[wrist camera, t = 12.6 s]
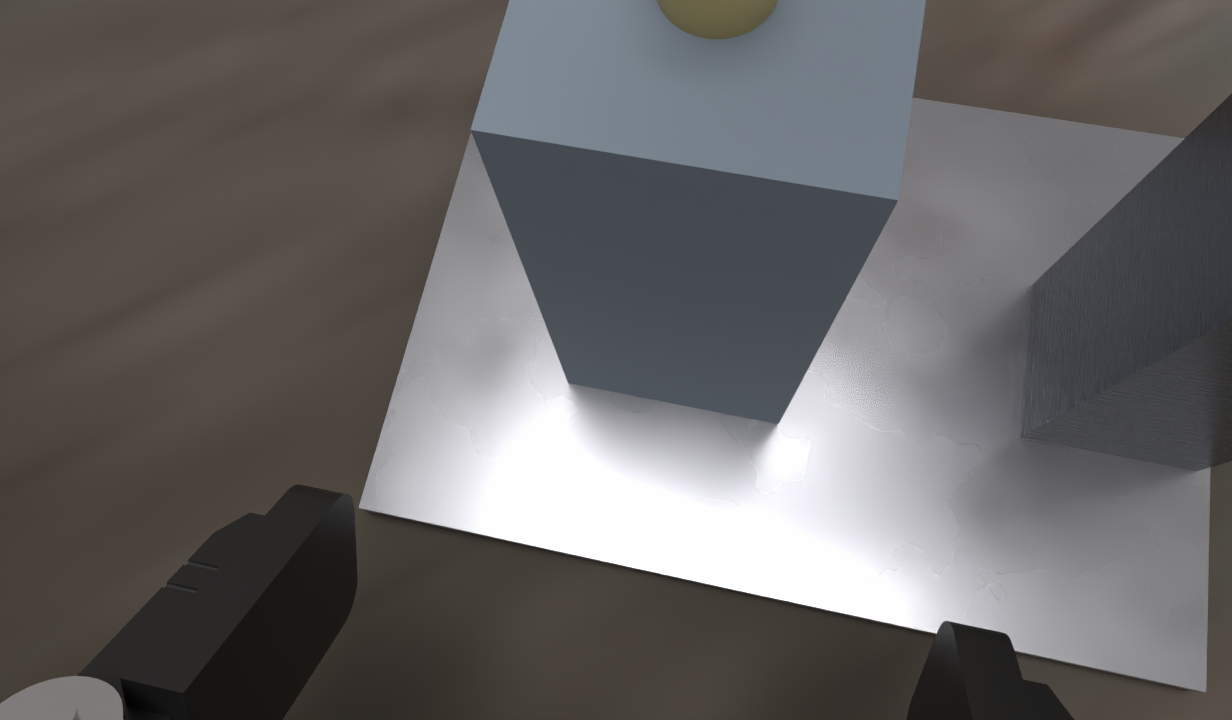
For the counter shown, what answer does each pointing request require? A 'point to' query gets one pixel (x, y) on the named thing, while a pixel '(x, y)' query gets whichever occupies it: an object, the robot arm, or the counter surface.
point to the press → (890, 407)
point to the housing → (697, 181)
